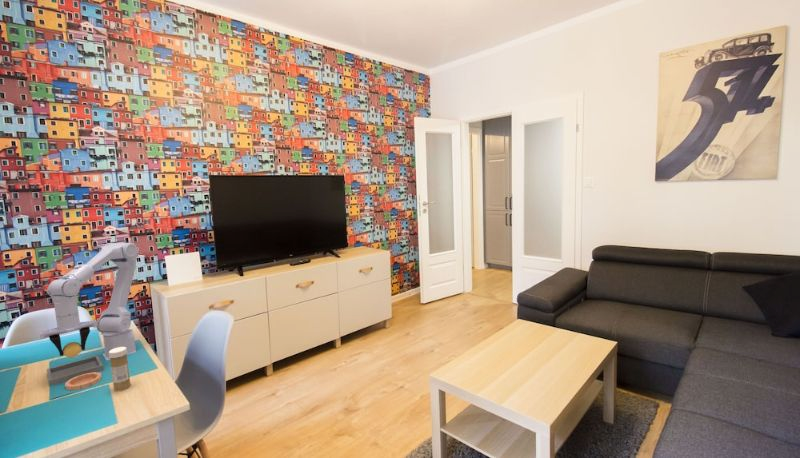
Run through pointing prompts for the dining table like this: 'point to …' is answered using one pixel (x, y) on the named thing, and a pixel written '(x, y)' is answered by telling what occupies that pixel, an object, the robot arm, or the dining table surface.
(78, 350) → the ball
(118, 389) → the sprinkles bottle
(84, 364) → the tray
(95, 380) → the copper shallow bowl
